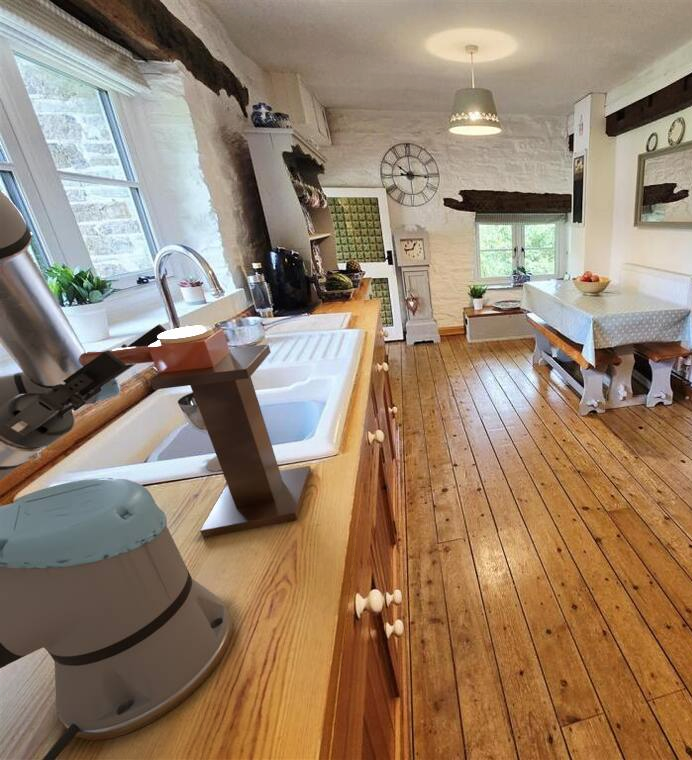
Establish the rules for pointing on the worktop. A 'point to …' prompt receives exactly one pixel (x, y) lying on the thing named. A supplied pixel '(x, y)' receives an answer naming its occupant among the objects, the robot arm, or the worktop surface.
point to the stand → (241, 444)
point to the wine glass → (196, 422)
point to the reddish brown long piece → (174, 350)
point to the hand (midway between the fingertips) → (143, 343)
